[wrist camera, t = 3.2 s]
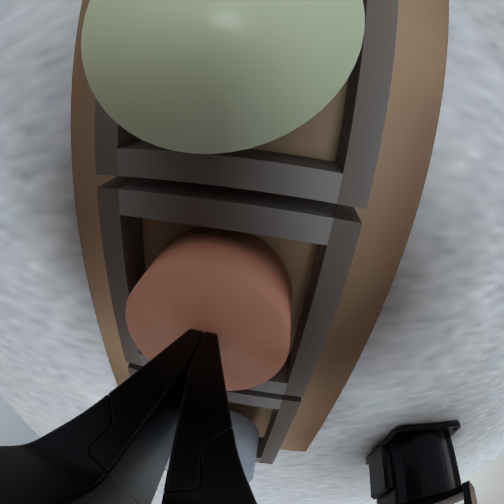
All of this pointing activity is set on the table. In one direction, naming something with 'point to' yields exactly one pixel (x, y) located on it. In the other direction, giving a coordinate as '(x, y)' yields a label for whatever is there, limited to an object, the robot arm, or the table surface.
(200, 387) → the robot arm
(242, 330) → the terracotta button
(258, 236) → the button panel
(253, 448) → the blue-grey flat rounded piece
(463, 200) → the table surface
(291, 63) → the sage button
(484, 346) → the table surface
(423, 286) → the table surface
